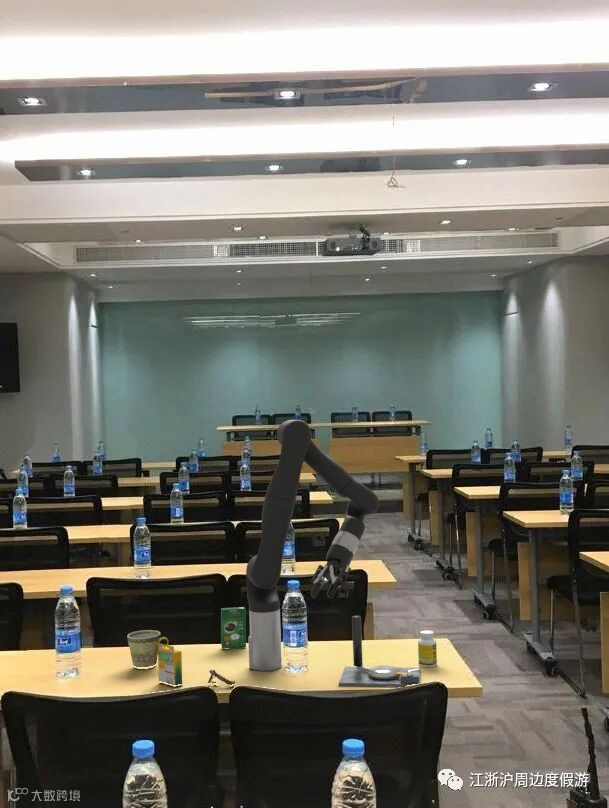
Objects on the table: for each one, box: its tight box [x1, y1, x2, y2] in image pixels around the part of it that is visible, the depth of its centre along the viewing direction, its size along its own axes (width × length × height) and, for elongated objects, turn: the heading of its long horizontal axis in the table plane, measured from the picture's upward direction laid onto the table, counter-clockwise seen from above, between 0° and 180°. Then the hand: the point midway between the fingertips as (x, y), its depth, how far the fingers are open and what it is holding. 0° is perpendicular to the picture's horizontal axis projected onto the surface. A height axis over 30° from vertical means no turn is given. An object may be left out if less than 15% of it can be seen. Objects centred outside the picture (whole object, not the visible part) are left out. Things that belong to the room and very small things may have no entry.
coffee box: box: [220, 606, 247, 649], centre depth 278 cm, size 8×3×13 cm, turn 103°
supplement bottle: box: [417, 629, 438, 668], centre depth 252 cm, size 5×5×10 cm
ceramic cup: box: [126, 629, 170, 667], centre depth 260 cm, size 13×10×10 cm
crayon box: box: [157, 643, 183, 685], centre depth 242 cm, size 7×3×12 cm, turn 48°
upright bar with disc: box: [351, 615, 407, 679], centre depth 242 cm, size 18×9×15 cm, turn 51°
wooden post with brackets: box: [207, 669, 236, 685], centre depth 239 cm, size 2×8×4 cm, turn 70°
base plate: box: [338, 666, 422, 688], centre depth 242 cm, size 22×15×4 cm
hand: (320, 597), depth 251 cm, fingers open, 8 cm apart
